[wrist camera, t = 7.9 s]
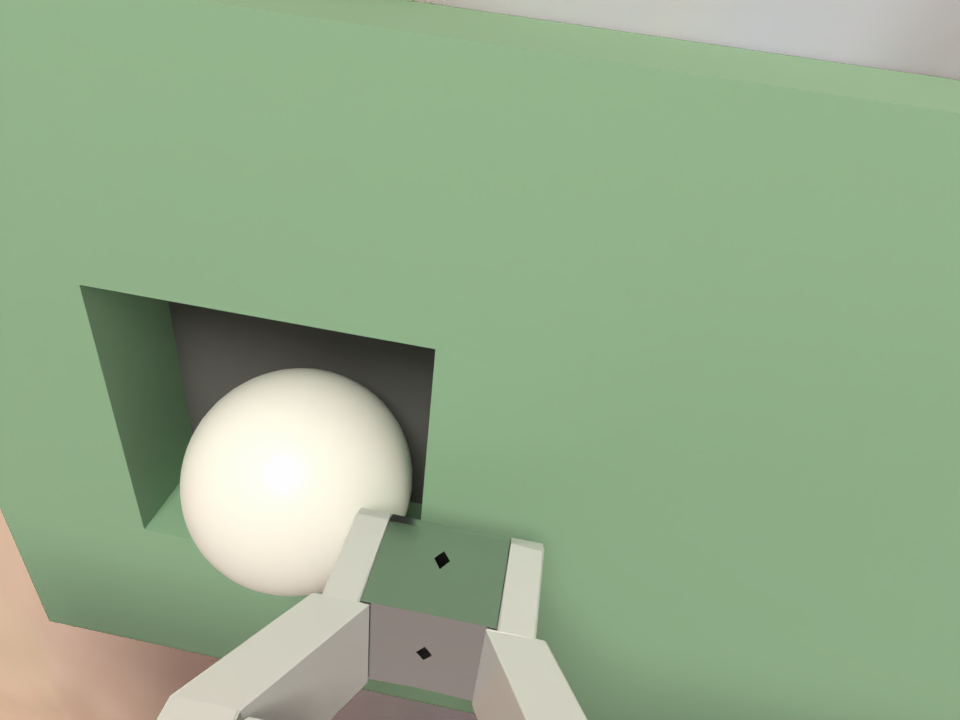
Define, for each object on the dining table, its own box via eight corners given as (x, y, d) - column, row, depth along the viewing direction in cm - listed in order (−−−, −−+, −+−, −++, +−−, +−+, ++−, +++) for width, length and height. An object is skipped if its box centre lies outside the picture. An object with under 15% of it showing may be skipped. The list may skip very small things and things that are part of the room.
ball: (440, 348, 12) (386, 506, 9) (423, 496, 15) (375, 665, 11) (233, 309, 13) (107, 450, 9) (248, 462, 15) (151, 618, 12)
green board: (1843, 209, 8) (2251, 303, 6) (1115, 749, 16) (1189, 869, 14) (-77, -71, 10) (-250, -67, 8) (112, 540, 18) (49, 620, 16)
